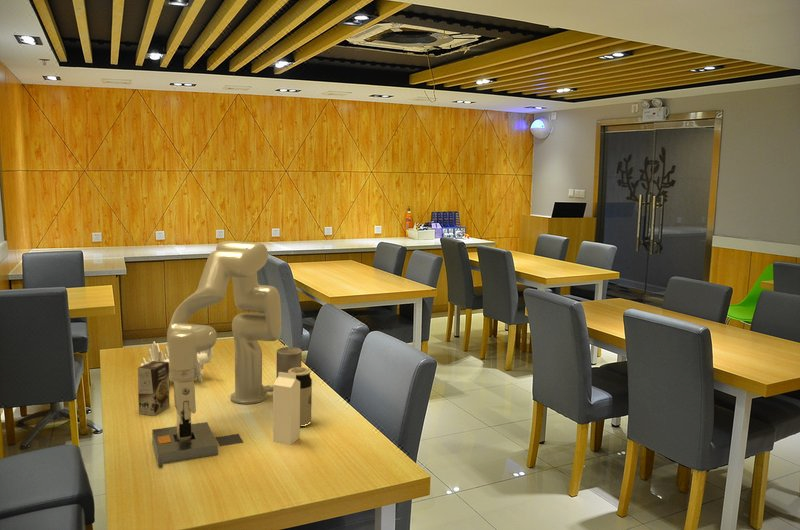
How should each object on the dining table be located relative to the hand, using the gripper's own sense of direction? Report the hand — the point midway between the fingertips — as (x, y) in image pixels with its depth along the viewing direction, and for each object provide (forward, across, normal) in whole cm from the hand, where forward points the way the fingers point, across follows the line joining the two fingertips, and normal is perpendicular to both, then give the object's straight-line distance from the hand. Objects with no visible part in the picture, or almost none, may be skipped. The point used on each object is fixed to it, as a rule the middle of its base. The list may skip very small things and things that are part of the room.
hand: (184, 432), depth 183 cm
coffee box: (+5, +36, +5) cm, 37 cm away
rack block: (+5, 0, 0) cm, 5 cm away
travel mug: (+5, +7, -37) cm, 38 cm away
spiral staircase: (+6, +61, -5) cm, 61 cm away
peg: (+2, 0, 0) cm, 2 cm away
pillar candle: (+6, +46, -45) cm, 65 cm away
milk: (+5, -6, -29) cm, 30 cm away
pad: (+5, 0, -13) cm, 14 cm away
